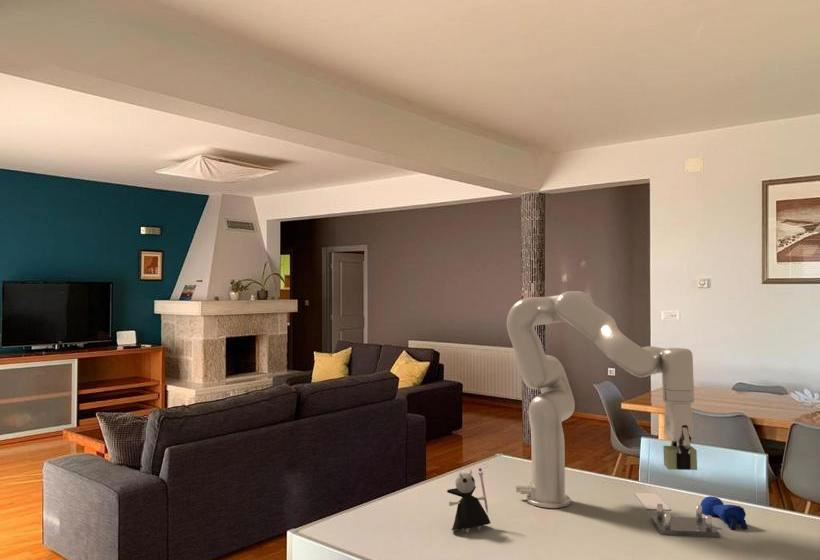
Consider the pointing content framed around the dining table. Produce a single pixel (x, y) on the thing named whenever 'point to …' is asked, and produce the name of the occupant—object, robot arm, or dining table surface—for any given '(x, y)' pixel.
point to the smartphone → (651, 501)
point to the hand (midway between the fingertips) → (680, 465)
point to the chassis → (684, 524)
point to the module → (671, 457)
